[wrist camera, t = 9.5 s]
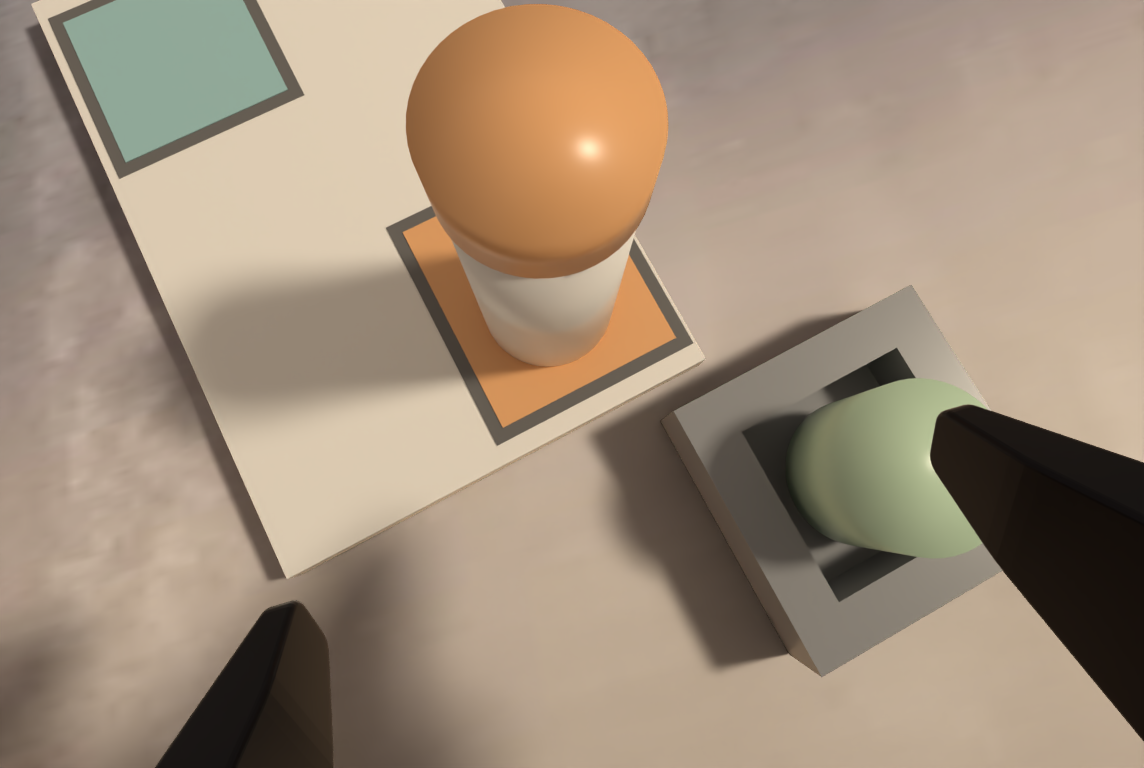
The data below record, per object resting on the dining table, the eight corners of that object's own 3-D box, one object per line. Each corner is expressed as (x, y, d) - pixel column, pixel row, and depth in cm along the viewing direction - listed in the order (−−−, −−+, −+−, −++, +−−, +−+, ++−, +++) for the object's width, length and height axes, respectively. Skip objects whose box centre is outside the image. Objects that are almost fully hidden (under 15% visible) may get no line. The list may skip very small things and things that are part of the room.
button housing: (789, 654, 20) (821, 677, 17) (660, 420, 21) (673, 411, 18) (1006, 527, 20) (1068, 531, 18) (871, 308, 22) (911, 284, 19)
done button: (834, 573, 18) (899, 591, 15) (758, 441, 19) (804, 429, 15) (957, 502, 19) (1050, 504, 15) (880, 375, 19) (951, 348, 16)
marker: (518, 393, 20) (478, 290, 10) (457, 276, 20) (362, 68, 11) (639, 331, 20) (716, 172, 10) (576, 217, 21) (591, -35, 11)
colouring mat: (300, 575, 20) (286, 579, 19) (54, 25, 23) (29, 3, 22) (699, 364, 21) (706, 358, 20) (417, -130, 24) (410, -158, 23)
